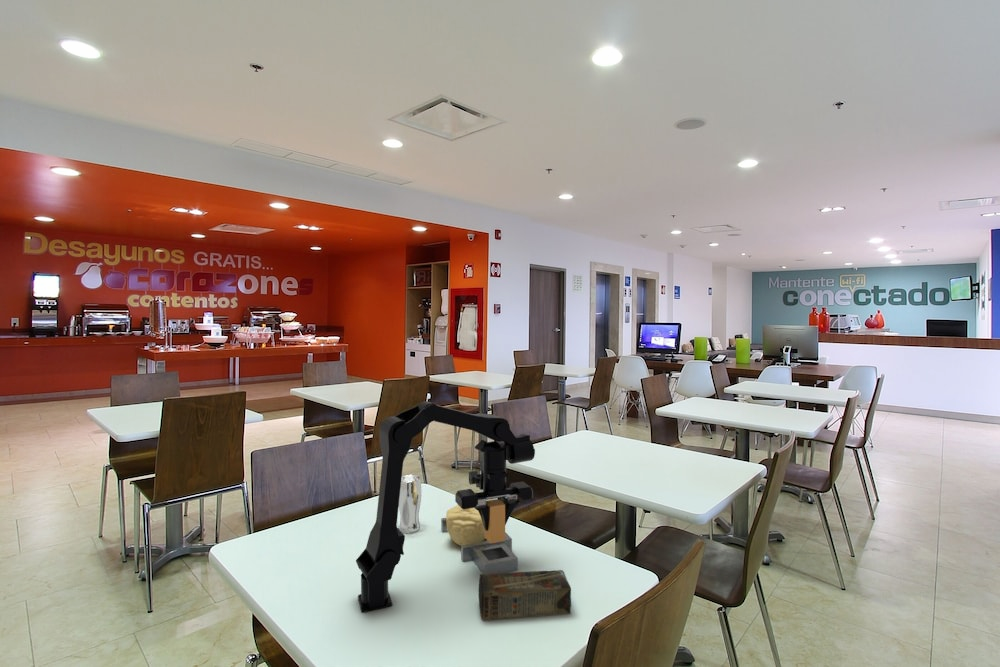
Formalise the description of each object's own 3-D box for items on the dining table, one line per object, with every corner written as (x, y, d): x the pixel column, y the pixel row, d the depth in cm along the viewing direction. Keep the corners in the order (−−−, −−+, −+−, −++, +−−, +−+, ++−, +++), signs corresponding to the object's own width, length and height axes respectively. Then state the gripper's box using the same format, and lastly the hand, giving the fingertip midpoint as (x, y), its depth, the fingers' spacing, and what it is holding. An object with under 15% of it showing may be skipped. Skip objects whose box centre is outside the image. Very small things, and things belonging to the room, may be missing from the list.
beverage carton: (572, 616, 104) (572, 585, 104) (480, 623, 102) (480, 591, 102) (563, 594, 112) (563, 565, 112) (477, 601, 110) (477, 571, 110)
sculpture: (442, 549, 133) (441, 509, 133) (454, 530, 145) (454, 493, 145) (484, 553, 131) (483, 512, 131) (493, 533, 143) (493, 496, 143)
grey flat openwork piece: (527, 568, 123) (527, 554, 123) (475, 579, 118) (475, 564, 118) (484, 522, 150) (484, 511, 150) (441, 530, 145) (441, 518, 145)
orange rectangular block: (505, 540, 123) (505, 504, 123) (490, 543, 122) (489, 506, 122) (499, 534, 127) (499, 499, 127) (484, 536, 126) (484, 501, 125)
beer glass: (393, 532, 144) (392, 480, 143) (404, 522, 151) (404, 473, 150) (415, 535, 142) (414, 483, 141) (425, 525, 149) (425, 475, 148)
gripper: (515, 454, 135) (515, 511, 135) (448, 462, 128) (449, 522, 128) (534, 465, 125) (534, 527, 125) (462, 474, 117) (462, 540, 118)
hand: (494, 528), depth 124 cm, fingers closed on orange rectangular block, 4 cm apart
